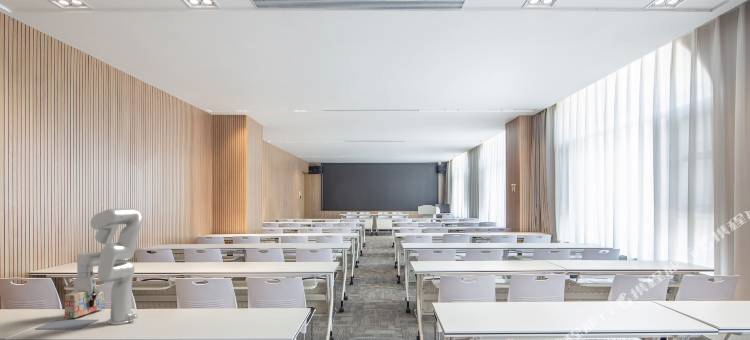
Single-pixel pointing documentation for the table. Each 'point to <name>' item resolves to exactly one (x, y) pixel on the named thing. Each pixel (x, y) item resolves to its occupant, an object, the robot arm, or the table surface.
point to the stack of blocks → (82, 304)
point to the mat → (67, 324)
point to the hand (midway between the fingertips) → (84, 306)
